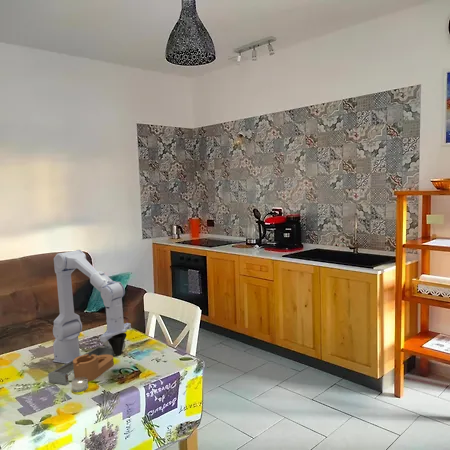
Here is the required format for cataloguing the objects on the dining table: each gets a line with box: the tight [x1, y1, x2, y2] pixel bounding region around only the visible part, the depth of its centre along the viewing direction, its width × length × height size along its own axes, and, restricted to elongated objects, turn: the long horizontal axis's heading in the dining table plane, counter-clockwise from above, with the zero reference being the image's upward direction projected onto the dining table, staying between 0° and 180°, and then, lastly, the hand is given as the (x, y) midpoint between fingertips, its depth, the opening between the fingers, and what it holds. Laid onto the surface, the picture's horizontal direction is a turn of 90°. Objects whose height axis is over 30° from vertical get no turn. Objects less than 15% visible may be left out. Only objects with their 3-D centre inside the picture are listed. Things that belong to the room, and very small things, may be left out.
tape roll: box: [71, 377, 89, 393], centre depth 136 cm, size 5×5×3 cm
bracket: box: [73, 353, 115, 382], centre depth 149 cm, size 18×8×7 cm, turn 164°
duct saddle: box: [47, 340, 126, 386], centre depth 154 cm, size 10×30×7 cm, turn 156°
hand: (118, 354), depth 145 cm, fingers closed
